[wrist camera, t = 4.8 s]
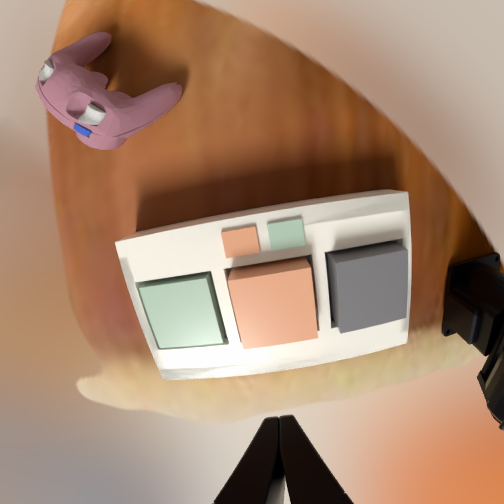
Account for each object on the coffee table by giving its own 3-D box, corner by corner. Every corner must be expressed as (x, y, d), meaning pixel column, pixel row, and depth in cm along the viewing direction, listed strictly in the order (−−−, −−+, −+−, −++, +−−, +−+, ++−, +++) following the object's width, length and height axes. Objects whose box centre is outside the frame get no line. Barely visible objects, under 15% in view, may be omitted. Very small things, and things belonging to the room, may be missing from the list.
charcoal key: (392, 240, 15) (407, 249, 13) (392, 303, 16) (406, 317, 14) (326, 252, 16) (335, 263, 14) (332, 316, 17) (340, 333, 15)
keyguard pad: (386, 189, 16) (409, 192, 13) (390, 322, 19) (407, 344, 16) (135, 232, 18) (113, 242, 15) (174, 356, 20) (162, 381, 17)
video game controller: (88, 75, 16) (17, 93, 11) (109, 28, 13) (32, 34, 8) (162, 140, 18) (86, 175, 12) (195, 89, 15) (113, 104, 9)
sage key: (212, 266, 17) (206, 278, 15) (227, 325, 18) (223, 342, 16) (151, 276, 17) (138, 287, 15) (169, 331, 18) (159, 348, 16)
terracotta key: (304, 255, 16) (310, 267, 14) (312, 320, 17) (318, 338, 15) (231, 267, 16) (227, 281, 14) (245, 330, 17) (243, 349, 15)
